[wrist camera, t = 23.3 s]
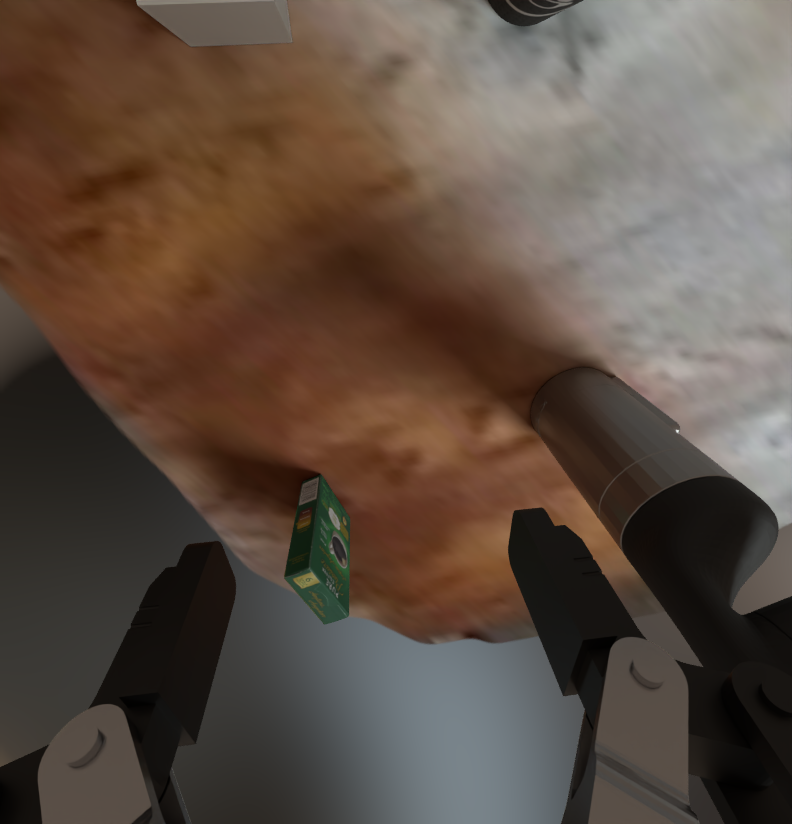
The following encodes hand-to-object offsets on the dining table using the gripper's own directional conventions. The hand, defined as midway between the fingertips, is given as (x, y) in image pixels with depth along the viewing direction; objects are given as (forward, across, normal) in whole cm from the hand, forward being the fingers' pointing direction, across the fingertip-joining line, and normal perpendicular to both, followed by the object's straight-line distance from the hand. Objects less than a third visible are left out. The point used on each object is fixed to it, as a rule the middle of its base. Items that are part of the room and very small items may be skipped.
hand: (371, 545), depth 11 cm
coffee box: (+28, +6, +24) cm, 38 cm away
